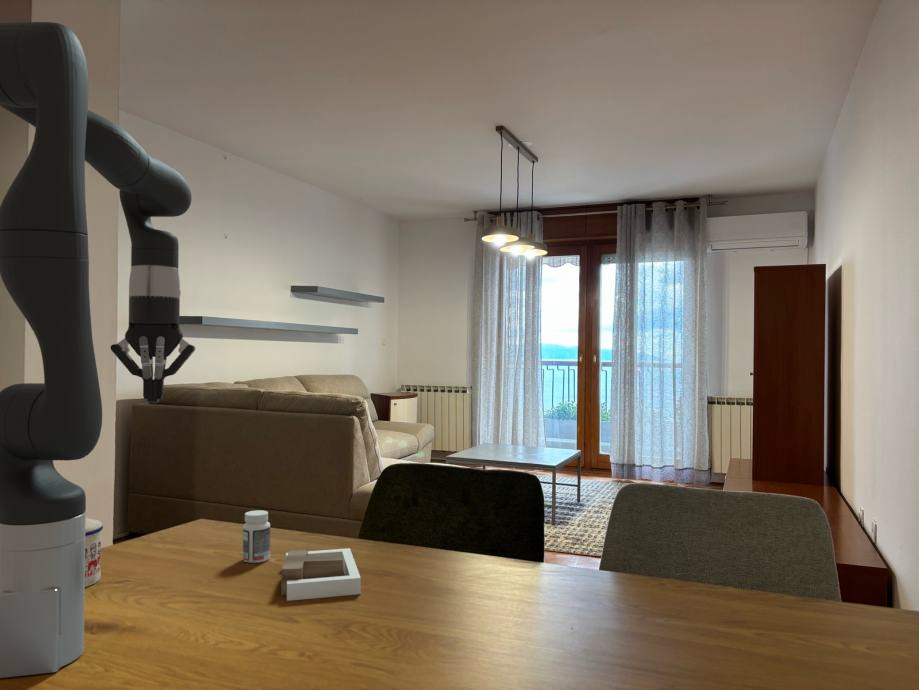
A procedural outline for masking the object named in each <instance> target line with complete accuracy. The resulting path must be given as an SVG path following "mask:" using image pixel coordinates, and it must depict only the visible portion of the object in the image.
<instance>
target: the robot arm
mask: <svg viewBox="0 0 919 690" xmlns="http://www.w3.org/2000/svg"><path fill="white" fill-rule="evenodd" d="M88 106H89V71H88V64H87V59H86V56H85V52H84V49H83V46H82V44H81V41H80V40H79V38H78V37H77V35H75V32H74V31H72V30H71V28H69V27H68V26H66V25H63V24H61V23H59V22H50V21H31V22H29V21H28V22H27V21H26V22H21V21H20V22H0V107H1V108H3V109H5V110H6V111H8V112H10V113H11V114H13V115H15V116H16V117H18V118H20V119H22V120H23V121H25V122H26V123H28V124H29V125H31V126H32V127H34V128H35V131H34V136H33V141H32V145H31V148H30V151H29V153H28V155H27V157H26V159H25V162H24V163H23V165H22V167H21V168H20V170H19V172H18V173H17V175H16V176H15V177H14V179H13V181H12V183H11V185H9V188H8V190H7V192H6V193H5V195H4V197H3V199H2V201H1V203H0V278H1V280H2V283H3V285H4V287H5V289H6V291H7V292H8V294H9V296H10V297H11V300H12V301H13V302H14V304H15V305H16V307H17V308H18V309H19V311H20V313H22V315H23V317H24V318H25V320H26V322H27V323H28V324H29V327H30V328H31V330H32V331H33V333H34V335H35V338H36V340H37V343H38V346H39V349H40V353H41V358H42V360H41V361H42V367H43V368H42V369H43V380H44V381H43V383H41V382H40V383H38V382H36V383H35V382H30V383H28V382H27V383H24V382H23V383H22V382H21V383H14V384H11V385H9V386H8V385H7V386H6V387H5V388H3V389H1V391H0V679H2V678H14V677H23V676H32V675H42V674H49V673H50V674H51V673H55V672H56V673H57V672H58V671H59V670H60V668H62V667H64V666H66V665H68V664H70V663H72V662H74V661H75V660H78V658H80V657H81V656H82V654H83V653H84V651H85V597H86V595H85V590H86V589H85V588H86V587H85V525H86V516H87V513H86V509H87V507H86V506H87V497H86V496H87V495H86V492H85V490H84V489H83V488H82V487H81V486H79V485H77V484H75V483H74V482H72V481H70V480H68V479H66V478H65V477H64V476H62V475H61V474H60V473H59V471H57V469H56V468H55V464H54V461H77V460H81V459H84V458H85V457H87V456H89V454H90V453H92V452H93V451H94V449H95V447H96V446H97V444H98V442H99V440H100V437H101V431H102V427H103V405H102V404H103V403H102V396H101V388H100V387H101V386H100V381H99V374H98V368H97V362H96V354H95V348H94V340H93V339H94V338H93V331H92V316H91V302H90V299H91V298H90V285H89V284H90V282H89V280H90V279H89V278H90V275H89V274H90V273H89V272H90V259H89V258H90V257H89V255H90V253H89V237H88V235H89V233H88V232H89V231H88V221H87V207H86V206H87V205H86V174H85V172H86V171H85V169H86V168H85V167H86V165H85V162H86V163H88V164H89V166H91V168H93V169H94V170H95V171H97V173H99V174H100V176H102V177H103V178H104V179H105V180H106V181H108V183H109V184H110V185H112V186H113V187H115V188H116V189H118V190H119V192H118V193H119V201H120V204H121V208H122V211H123V215H124V218H125V221H126V226H127V229H128V234H129V238H130V242H131V243H130V244H131V246H130V256H131V257H130V274H129V281H128V328H127V330H126V332H125V334H124V338H123V339H122V340H120V341H118V342H117V343H114V344H111V346H110V350H111V352H112V353H113V354H114V355H115V356H116V358H117V359H118V360H119V361H120V362H121V363H122V364H123V366H124V367H125V369H127V371H128V372H129V373H130V374H131V375H132V376H136V377H139V378H141V379H142V385H143V386H142V387H143V388H142V396H143V399H144V400H147V404H149V403H150V404H155V403H159V402H160V400H162V399H163V398H164V388H165V386H164V384H165V382H164V380H165V379H166V378H167V377H170V376H174V375H175V374H176V373H177V372H178V371H179V370H180V369H181V367H183V365H184V364H185V363H186V362H187V360H189V359H190V357H191V356H192V355H193V353H194V352H195V351H196V346H195V345H193V344H190V343H189V342H188V341H186V340H185V339H184V337H183V335H184V334H183V333H182V331H181V328H180V327H181V326H180V319H181V318H180V316H181V315H180V310H181V308H180V306H181V305H180V302H181V301H180V300H181V299H180V298H181V285H180V284H181V281H180V273H179V255H180V254H179V250H180V249H179V247H180V246H179V239H178V237H177V236H176V234H174V233H172V232H169V231H166V230H161V229H156V228H154V225H153V223H152V219H151V218H152V217H153V218H155V217H156V218H169V217H170V218H172V217H173V218H174V217H179V216H182V215H184V214H185V213H186V212H187V211H188V210H189V209H190V207H191V204H192V191H191V188H190V186H189V183H188V182H187V180H186V179H185V177H183V175H182V174H180V173H179V172H178V171H177V170H175V169H174V168H172V167H171V166H170V165H168V164H166V163H164V162H163V161H161V160H159V159H158V158H156V157H154V156H151V155H150V154H148V153H147V151H146V150H145V149H144V148H143V147H142V146H141V145H140V144H139V143H138V142H137V141H136V139H135V138H133V136H131V134H130V133H129V132H127V131H126V130H125V129H123V127H121V126H119V125H118V124H116V123H115V122H113V121H111V120H110V119H108V118H106V117H104V116H103V115H102V116H101V115H100V114H98V113H96V112H94V111H92V110H89V107H88ZM129 346H130V347H131V348H132V349H133V350H134V352H135V353H136V355H137V356H138V357H140V363H141V364H140V365H141V367H140V366H139V365H138V364H137V363H136V361H135V359H133V357H132V356H131V355H130V354H129V352H130V351H131V349H130V347H129ZM178 346H179V347H178ZM177 347H178V353H179V355H178V356H177V357H176V358H175V359H174V361H173V362H172V363H171V364H170V365H169V366H168V368H166V365H167V360H168V357H169V356H171V355H172V353H173V352H174V351H175V349H176V348H177Z"/></svg>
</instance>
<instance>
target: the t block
mask: <svg viewBox="0 0 919 690" xmlns="http://www.w3.org/2000/svg"><path fill="white" fill-rule="evenodd" d="M308 551H309V550H308V549H306V548H305V549H290V550H289V551H288V552H287V553H288V555H287V558H286V557H285V560H284V563H283V565H282V567H281V585H280V586H281V589H280V591H281V596H287V581H289V580H301V579H314V578H326V577H338V576H344V571H343V554H341V555H312V556H308Z"/></svg>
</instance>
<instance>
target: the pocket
mask: <svg viewBox="0 0 919 690" xmlns="http://www.w3.org/2000/svg"><path fill="white" fill-rule="evenodd" d="M288 553H289V552H285V559H286V558H287V555H288ZM341 554H343V576H338V577H326V578H314V579H301V580H289V581H287V595H286V602H289V601H299V600H310V599H321V598H322V599H323V598H333V597H334V598H335V597H342V596H343V597H344V596H345V597H346V596H354V595H361V592H362V588H361V586H362V585H361V584H362V583H361V582H362V579H361V575H360V571H359V569H358V567H357V564H356V561H355V559H354V558H355V557H354V556H353V553H352V551H351V548H349V547H347V548H338V549H337V548H336V549H335V548H334V549H323V550H308V556H312V555H341Z"/></svg>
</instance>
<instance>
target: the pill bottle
mask: <svg viewBox="0 0 919 690" xmlns="http://www.w3.org/2000/svg"><path fill="white" fill-rule="evenodd" d="M244 522H245V523H244V524H243V526H242V561H243V562H244V563H251V564H258V563H263V562H266V561H268V560H270V558H271V523H270V522H269V512H268V511H267V510H262V509H261V510H250V511H247V512H245V513H244Z"/></svg>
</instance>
